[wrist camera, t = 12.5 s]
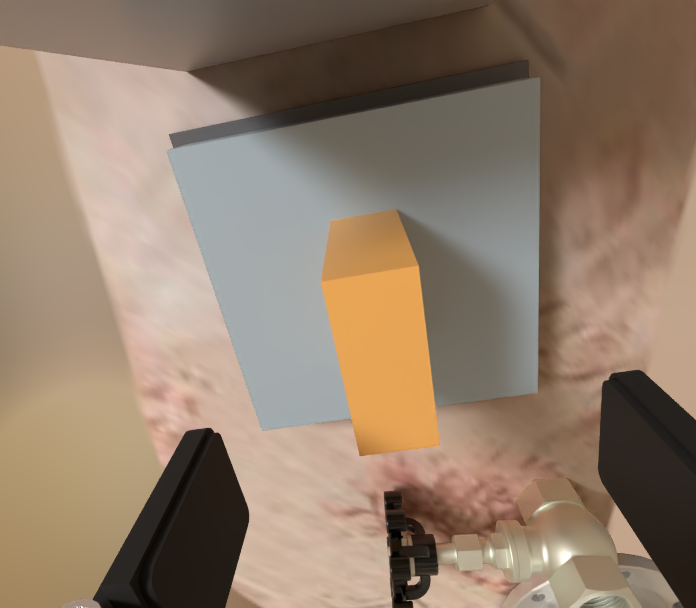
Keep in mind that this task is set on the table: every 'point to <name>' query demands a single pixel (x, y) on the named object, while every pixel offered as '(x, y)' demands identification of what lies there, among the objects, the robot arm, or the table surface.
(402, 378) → the lid
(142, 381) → the table surface
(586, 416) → the table surface
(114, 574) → the robot arm
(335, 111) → the mat
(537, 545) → the valve
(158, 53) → the tub
